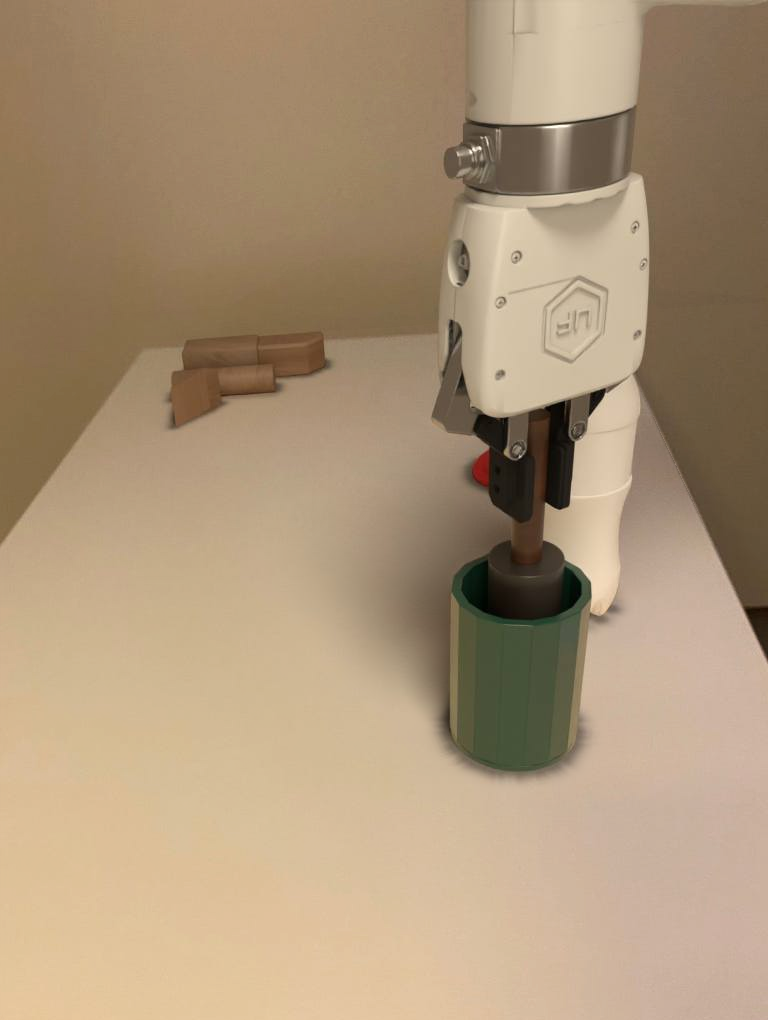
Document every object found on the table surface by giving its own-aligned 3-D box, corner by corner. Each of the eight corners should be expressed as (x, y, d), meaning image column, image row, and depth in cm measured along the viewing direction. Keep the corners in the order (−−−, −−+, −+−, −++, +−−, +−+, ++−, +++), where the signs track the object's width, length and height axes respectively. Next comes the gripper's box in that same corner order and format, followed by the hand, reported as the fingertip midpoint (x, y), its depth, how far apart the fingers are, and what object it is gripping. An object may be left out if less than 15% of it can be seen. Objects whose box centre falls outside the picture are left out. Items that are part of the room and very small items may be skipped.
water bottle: (539, 574, 82) (560, 264, 68) (626, 593, 79) (669, 271, 64) (507, 620, 77) (523, 297, 63) (599, 642, 74) (638, 307, 59)
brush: (568, 641, 63) (588, 404, 54) (540, 680, 60) (555, 437, 51) (504, 623, 65) (512, 392, 56) (474, 659, 63) (477, 423, 53)
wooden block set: (176, 331, 123) (322, 320, 121) (183, 375, 126) (325, 365, 125) (158, 383, 109) (322, 370, 108) (166, 431, 112) (326, 419, 111)
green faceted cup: (594, 719, 67) (612, 569, 60) (544, 794, 62) (558, 640, 55) (483, 683, 72) (488, 539, 65) (428, 750, 66) (427, 602, 59)
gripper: (444, 201, 41) (446, 578, 52) (740, 134, 45) (685, 493, 56) (357, 174, 46) (375, 519, 57) (629, 117, 51) (598, 446, 62)
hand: (529, 503), depth 57 cm, fingers closed on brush
